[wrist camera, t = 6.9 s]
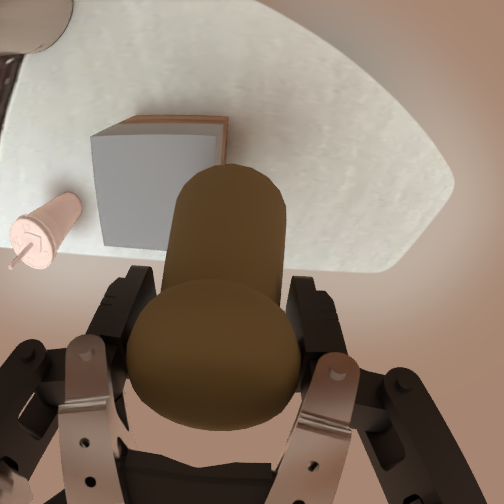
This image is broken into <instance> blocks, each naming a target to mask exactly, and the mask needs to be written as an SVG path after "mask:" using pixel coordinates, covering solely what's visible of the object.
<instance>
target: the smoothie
mask: <svg viewBox="0 0 504 504" xmlns="http://www.w3.org/2000/svg"><path fill="white" fill-rule="evenodd" d="M81 212H82V205H81V202H80V200H79V198H78V197H77V196H76V195H74V194H73V193H69V192H67V193H64V194H62V195H60V196H58V197H57V198H55V199H53V200H51V201H50V202H48V203H46V204H44V205H43V206H41V207H39V208H38V209H36V210H34V211H33V212H31V213H29V214H27V215H22V216H20V217H18V218H17V220H16V221H15V222H14V223H13V224H12V226H11V228H10V240H11V244H12V247H13V249H14V251H15V252H16V254H17V255H18V256H17V257H16V258H15V259H14V260H13V261H12V262H11V264H10V265H9V266H8V267H9V269H10V270H12V269H13V268H14V267H15V266H16V264H17V263H18V262H19V261H20V260H22V261H23V262H24V263H25V264H27V265H28V266H30V267H32V268H35V269H45V268H46V267H48V266H49V265H50V264H51V263H52V262H53V261H54V259H55V257H56V252H57V250H58V248H59V246H60V245H61V243H62V241H63V240H64V238H65V237H66V235H67V234H68V232H69V230H70V229H71V227H72V226H73V224H74V223H75V221H76V220H77V218H78V217H79V216H80V214H81Z"/></svg>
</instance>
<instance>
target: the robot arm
mask: <svg viewBox="0 0 504 504" xmlns="http://www.w3.org/2000/svg"><path fill="white" fill-rule="evenodd" d="M72 6H73V1H72V0H0V56H5V55H13V54H27V53H35V52H40V51H42V50H45V49H46V48H48V47H49V46H51V45H52V44H53V43H54V42H55V41H56V40H57V39H58V38H59V37H60V36H61V34H62V33H63V31H64V30H65V28H66V27H67V24H68V22H69V20H70V17H71V13H72ZM155 297H156V289H155V283H154V277H153V270H152V268H151V267H148V266H135V265H134V266H133V265H132V266H131V267H130V269H129V271H128V273H127V275H126V277H125V278H120V277H119V278H117V279H116V280H115V281H114V282H113V283H112V284H111V285H110V286H109V287H108V289H107V291H106V293H105V295H104V298H103V299H102V301H101V303H100V305H99V307H98V309H97V311H96V313H95V315H94V317H93V319H92V321H91V323H90V325H89V328H88V330H87V332H86V334H84V335H80V336H78V337H76V338H75V339H73V340H72V341H71V342H70V343H69V345H68V346H67V348H62V349H51V350H46V349H45V347H44V345H43V344H42V343H41V342H40V341H38V340H35V339H30V340H26V341H23V342H22V343H20V344H19V345H18V346H17V347H16V348H15V349H14V351H13V352H12V353H11V355H10V356H9V357H8V358H7V360H6V361H5V362H4V364H3V365H2V366H1V367H0V504H29V502H31V501H32V500H33V493H32V492H31V489H30V485H29V483H28V481H29V479H30V477H31V475H32V474H33V472H34V470H35V468H36V466H37V464H38V462H39V460H40V459H41V457H42V455H43V453H44V452H45V450H46V448H47V446H48V444H49V443H50V441H51V439H52V437H53V436H54V434H55V432H56V431H57V429H58V427H59V443H60V454H61V464H62V472H63V480H64V487H65V489H63V490H62V491H61V492H59V493H58V494H57V495H55V496H54V497H53V498H51V499H50V500H48V501H47V502H45V503H44V504H332V503H333V500H334V497H335V494H336V491H337V488H338V484H339V481H340V478H341V474H342V471H343V467H344V464H345V460H346V456H347V453H348V448H349V445H350V441H351V435H352V432H351V430H350V429H349V428H353V429H357V431H358V434H359V436H360V438H361V440H362V443H363V445H364V447H365V450H366V452H367V454H368V456H369V459H370V461H371V463H372V466H373V468H374V470H375V473H376V475H377V477H378V479H379V482H380V484H381V487H382V489H383V491H384V494H385V496H386V499H387V501H388V503H389V504H487V502H486V500H485V498H484V496H483V494H482V492H481V490H480V487H479V485H478V483H477V481H476V479H475V477H474V475H473V473H472V471H471V469H470V467H469V465H468V463H467V461H466V459H465V457H464V456H463V454H462V452H461V450H460V448H459V446H458V444H457V442H456V440H455V439H454V437H453V435H452V433H451V431H450V429H449V428H448V426H447V424H446V422H445V421H444V419H443V417H442V415H441V414H440V412H439V410H438V408H437V407H436V405H435V403H434V401H433V400H432V398H431V396H430V395H429V393H428V391H427V390H426V388H425V386H424V385H423V383H422V381H421V380H420V378H419V377H418V375H417V374H416V373H414V372H413V371H411V370H410V369H407V368H403V367H397V368H393V369H391V370H390V371H389V372H387V374H386V375H382V374H377V373H373V372H369V371H365V370H363V369H361V368H359V366H358V364H357V362H356V361H355V360H354V359H353V358H352V357H350V356H348V353H347V350H346V345H345V341H344V338H343V334H342V330H341V326H340V323H339V321H338V315H337V313H336V308H335V305H334V301H333V299H332V298H331V297H330V296H329V295H328V294H327V292H326V291H316V288H315V284H314V280H313V277H306V276H292V279H291V284H290V289H289V294H288V300H287V305H286V316H287V318H288V320H289V322H290V324H291V326H292V328H293V330H294V332H295V334H296V336H297V338H298V340H299V345H300V351H301V368H300V377H299V383H298V388H297V390H296V391H295V392H301V397H302V403H301V405H300V408H299V410H298V413H297V415H296V418H295V421H294V423H293V426H292V429H291V431H290V434H289V437H288V439H287V442H286V444H285V447H284V449H283V451H282V454H281V456H280V458H279V460H278V463H277V465H276V467H275V470H274V471H273V470H271V463H238V462H234V463H229V464H222V465H216V466H210V467H202V468H196V467H192V466H189V465H186V464H184V463H181V462H178V461H176V460H173V459H170V458H168V457H165V456H163V455H159V454H153V453H147V452H141V451H139V450H138V447H137V444H136V442H135V440H134V437H133V433H132V428H131V423H130V417H129V412H128V406H127V400H126V394H125V390H124V384H125V381H126V379H130V378H129V376H128V370H127V361H126V353H127V342H128V339H129V336H130V334H131V331H132V329H133V326H134V324H135V322H136V320H137V318H138V316H139V314H140V312H141V311H142V310H143V309H144V308H145V306H146V305H147V304H148V303H149V301H151V300H152V299H153V298H155ZM33 392H34V393H35V394H34V396H33V398H32V399H31V400H30V402H29V403H28V405H27V406H26V408H25V410H24V411H23V413H22V414H21V416H20V417H19V414H20V412H21V410H22V409H23V407H24V406H25V404H26V403H27V401H28V400H29V398H30V397H31V395H32V394H33ZM18 417H19V419H18Z"/></svg>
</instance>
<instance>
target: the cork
mask: <svg viewBox="0 0 504 504" xmlns="http://www.w3.org/2000/svg"><path fill="white" fill-rule="evenodd" d="M285 234H286V205H285V203H284V200H283V198H282V195H281V193H280V190H279V189H278V188H277V187H276V186H275V185H274V184H273V182H272V181H271V180H270V179H269V178H268V177H267V176H265V175H263V174H261V173H260V172H258V171H256V170H255V169H253V168H250V167H245V166H241V165H236V164H226V165H215V166H212V167H210V168H207V169H205V170H203V171H200V172H198V173H196V174H195V175H194V176H193V177H192V178H191V179H190V180H189V181H188V182H186V183H185V184H184V186H183V188H182V190H181V192H180V193H179V195H178V197H177V199H176V204H175V209H174V214H173V220H172V225H171V231H170V236H169V242H168V248H167V254H166V260H165V266H164V273H163V279H162V287H161V293H160V294H158V295H157V296H156V297H155V298H153V299H152V300H151V301H149V303H148V304H147V305H146V306H145V308H144V309H143V310H142V311H141V312H140V314H139V316H138V318H137V320H136V322H135V324H134V326H133V329H132V331H131V334H130V336H129V339H128V342H127V353H126V361H127V370H128V376H129V378H130V381H131V384H132V387H133V389H134V391H135V392H136V393H137V395H138V396H139V398H140V399H141V401H142V402H144V403H145V404H146V405H147V406H149V407H150V408H151V409H153V410H154V411H155V412H157V413H158V414H159V415H161V416H163V417H165V418H167V419H169V420H171V421H173V422H175V423H178V424H182V425H184V426H188V427H191V428H196V429H203V430H210V431H232V430H240V429H246V428H249V427H252V426H256V425H259V424H262V423H264V422H266V421H269V420H270V419H272V418H273V417H275V416H276V415H278V414H279V413H281V412H282V411H283V410H284V408H285V407H286V405H287V404H288V402H289V401H290V400H291V398H292V396H293V395H294V393H295V391H296V390H297V388H298V383H299V377H300V368H301V351H300V345H299V340H298V338H297V336H296V334H295V332H294V330H293V328H292V326H291V324H290V322H289V320H288V318H287V316H286V314H285V312H284V311H283V310H282V309H281V308H280V299H281V288H282V275H283V262H284V249H285Z"/></svg>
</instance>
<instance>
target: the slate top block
mask: <svg viewBox="0 0 504 504" xmlns="http://www.w3.org/2000/svg"><path fill="white" fill-rule="evenodd" d="M222 136H223V125H221V124H197V123H137V124H115V125H113V126H111V127H109V128H107V129H105V130H103V131H101V132H99V133H97V134H95V135H93V136H91V150H92V162H93V172H94V181H95V189H96V197H97V204H98V211H99V218H100V224H101V230H102V236H103V241H104V246H113V247H126V248H138V249H150V250H162V251H167V248H168V242H169V236H170V231H171V225H172V220H173V214H174V209H175V204H176V199H177V197H178V195H179V193H180V192H181V190H182V188H183V186H184V184H185V183H186V182H188V181H189V180H190V179H191V178H192V177H193V176H194V175H195V174H196V173H198V172H200V171H203V170H205V169H207V168H210V167H212V166H215V165H221V154H222Z"/></svg>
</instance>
